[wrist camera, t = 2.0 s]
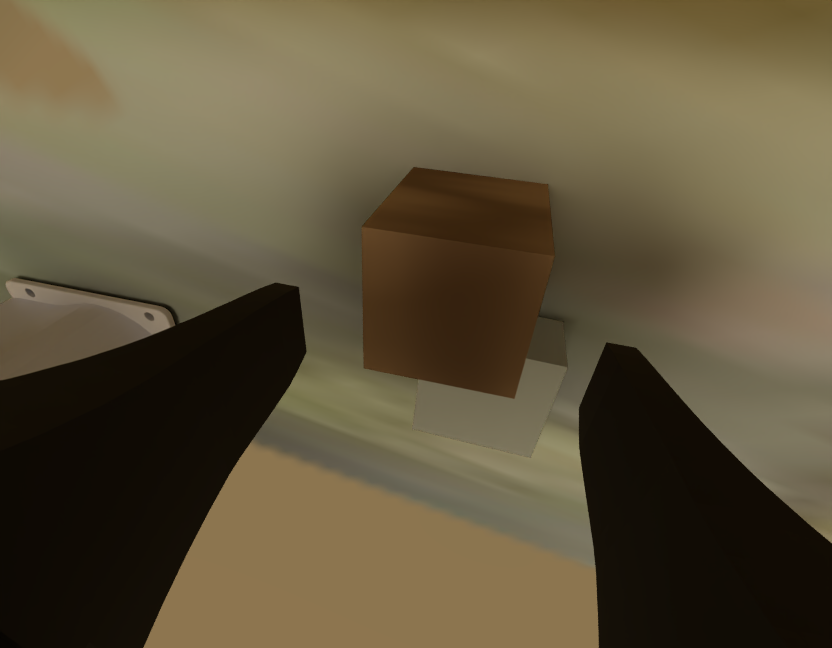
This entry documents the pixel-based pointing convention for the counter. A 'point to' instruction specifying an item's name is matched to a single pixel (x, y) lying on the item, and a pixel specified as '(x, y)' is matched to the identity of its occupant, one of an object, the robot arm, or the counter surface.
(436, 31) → the counter surface
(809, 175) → the counter surface
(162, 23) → the counter surface
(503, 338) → the walnut block
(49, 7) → the counter surface
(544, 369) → the slate block
